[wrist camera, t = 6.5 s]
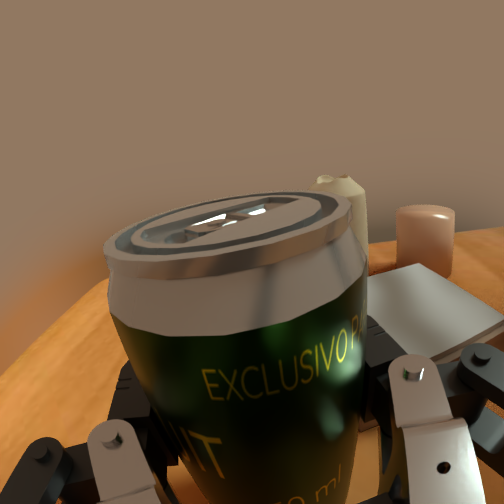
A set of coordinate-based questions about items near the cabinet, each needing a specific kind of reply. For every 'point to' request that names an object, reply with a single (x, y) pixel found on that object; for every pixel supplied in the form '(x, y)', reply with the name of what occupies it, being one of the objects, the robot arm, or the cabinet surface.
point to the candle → (355, 197)
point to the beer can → (249, 340)
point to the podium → (430, 315)
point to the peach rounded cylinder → (425, 237)
